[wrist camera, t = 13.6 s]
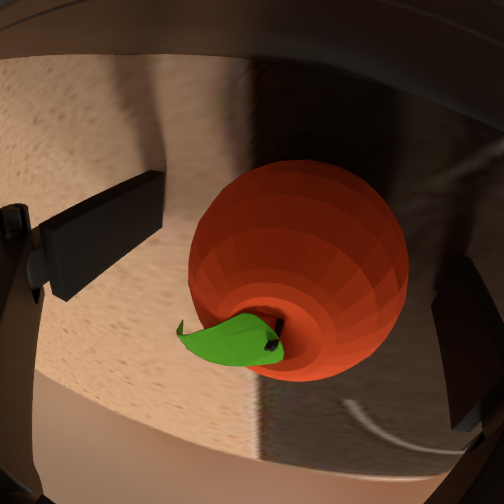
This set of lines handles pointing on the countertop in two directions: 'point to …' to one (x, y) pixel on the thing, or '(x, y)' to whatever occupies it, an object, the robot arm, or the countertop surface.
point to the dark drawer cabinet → (291, 39)
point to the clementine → (296, 272)
